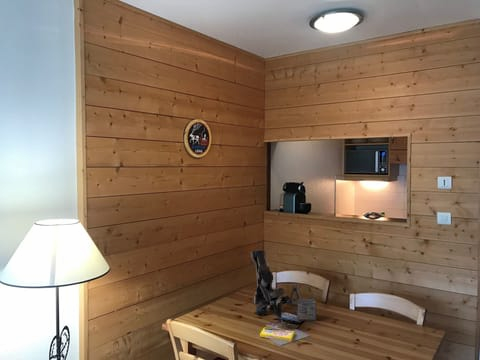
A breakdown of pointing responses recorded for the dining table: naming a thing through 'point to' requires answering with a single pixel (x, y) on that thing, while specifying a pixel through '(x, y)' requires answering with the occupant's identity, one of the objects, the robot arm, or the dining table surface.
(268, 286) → the robot arm
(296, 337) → the placemat
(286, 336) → the candy box
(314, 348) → the dining table surface
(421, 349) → the dining table surface
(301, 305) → the small box
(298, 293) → the phone stand
